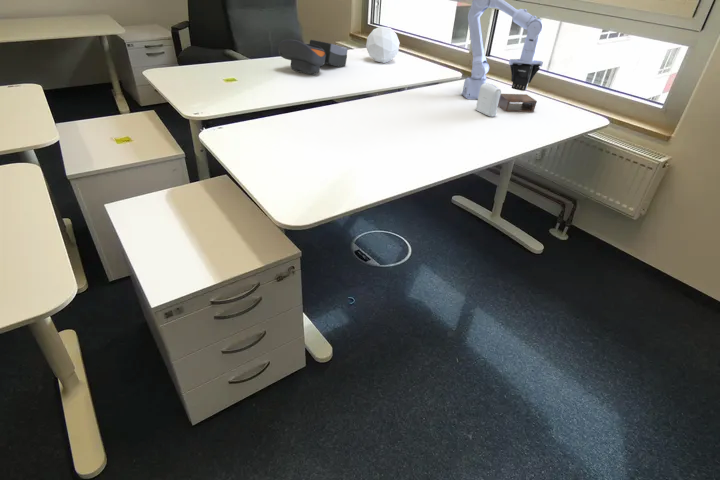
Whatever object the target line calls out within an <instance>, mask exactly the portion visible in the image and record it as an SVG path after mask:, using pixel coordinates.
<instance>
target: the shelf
mask: <svg viewBox="0 0 720 480" xmlns="http://www.w3.org/2000/svg"><path fill="white" fill-rule="evenodd" d="M537 103H538V102H537V100H536V99H535V98H533V97H532V96H531V95H529V94H527V93H526V94H523V93H501V95H500V99H499V103H498V107H499V108H500V109H502V110H503V111H504V112H510V113H511V112H514V113H515V112H516V113H517V112H518V113H534V112H535V109H536V106H537Z"/></svg>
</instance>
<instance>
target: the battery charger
mask: <svg viewBox="0 0 720 480" xmlns="http://www.w3.org/2000/svg"><path fill="white" fill-rule="evenodd" d="M518 67H519V69H518V71H517V74H516V78H515V81H514V82H512V83H511V84H512V85H511V89H513V90H517V91H521V92H525V91H527V89H528V86H529V83H528V82H529V80H530V76H531V73H532V69H533V66H532V65H531V64H524V63H522V64H521V65H518Z"/></svg>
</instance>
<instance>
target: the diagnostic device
mask: <svg viewBox="0 0 720 480" xmlns="http://www.w3.org/2000/svg"><path fill="white" fill-rule="evenodd" d="M277 52H278V55H279V56H280V57H281V58H283V59H285V60H288V61H290V69H291V70H293V71H294V72H296V73H297V72H299V73H302V74H306V75H317V74H318V73H320V69H321V67H323V66H324V65H329V66H334V67H340V68H341V67H345V66H346V65H347V58H348V47H345V46H341V45H337V44H334V43H330V42H325V41H320V40H315V39H310V40H309V43H304V42H303V41H301V40H296V39H284V40H281V41H280V42H279V43H278V49H277Z"/></svg>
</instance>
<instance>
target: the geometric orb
mask: <svg viewBox="0 0 720 480" xmlns="http://www.w3.org/2000/svg"><path fill="white" fill-rule="evenodd" d="M400 44H401V42H400V40H399V37H398V34H397V33H396V32H395V31H394V30H393V29H392V28H391V27H388V26H378V27H375V28H373V29H372V31H371V32H370V33H369V34H368V36H367V38H366V45H365V49H366V51H367V53H368V56H369V57H370V58H371V59H372V60H373V61H374V62H376V63H382V64H386V63H388V62H391V61H393V59H394V58H395V57H396V56H397V54H398V53H399V50H400Z"/></svg>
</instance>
